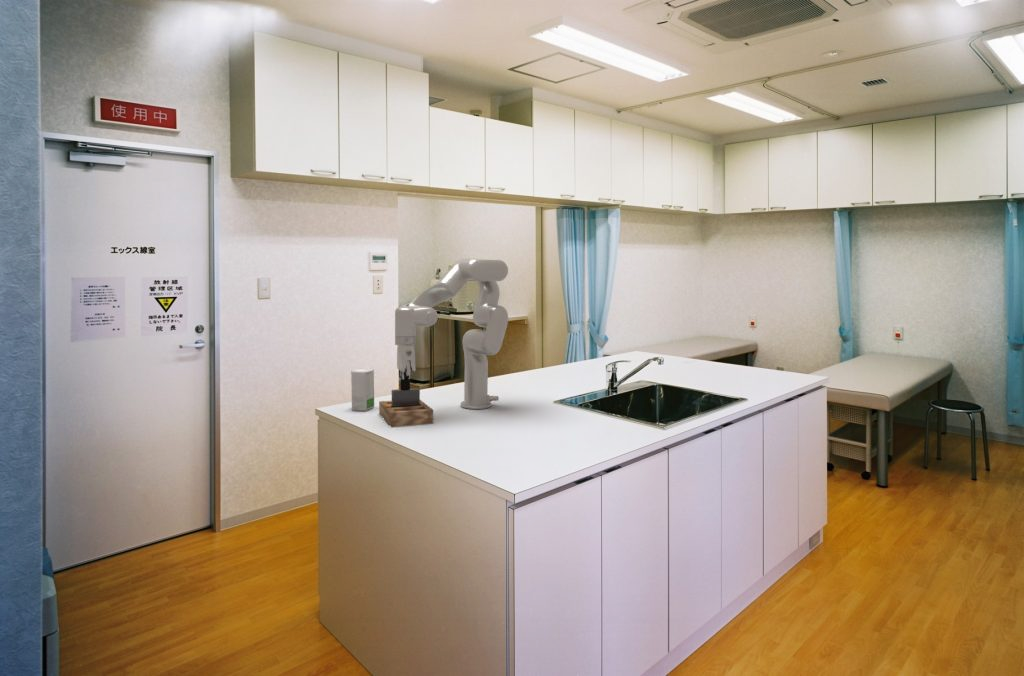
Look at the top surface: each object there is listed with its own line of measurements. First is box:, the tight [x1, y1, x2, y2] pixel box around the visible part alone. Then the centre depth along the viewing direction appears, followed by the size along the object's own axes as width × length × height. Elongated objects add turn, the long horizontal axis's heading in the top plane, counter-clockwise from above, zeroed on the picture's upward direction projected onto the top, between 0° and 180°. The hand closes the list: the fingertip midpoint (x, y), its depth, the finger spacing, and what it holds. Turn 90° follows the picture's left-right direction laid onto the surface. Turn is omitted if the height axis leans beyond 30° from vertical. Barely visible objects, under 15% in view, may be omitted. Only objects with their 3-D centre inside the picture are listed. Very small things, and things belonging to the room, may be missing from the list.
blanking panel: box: [391, 388, 421, 408], centre depth 228 cm, size 10×2×9 cm, turn 113°
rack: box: [378, 399, 434, 428], centre depth 228 cm, size 16×20×6 cm
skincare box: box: [350, 368, 375, 412], centre depth 242 cm, size 8×7×16 cm
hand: (405, 389), depth 227 cm, fingers closed
